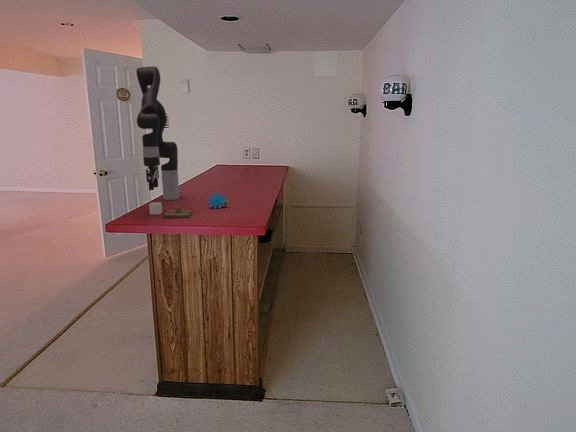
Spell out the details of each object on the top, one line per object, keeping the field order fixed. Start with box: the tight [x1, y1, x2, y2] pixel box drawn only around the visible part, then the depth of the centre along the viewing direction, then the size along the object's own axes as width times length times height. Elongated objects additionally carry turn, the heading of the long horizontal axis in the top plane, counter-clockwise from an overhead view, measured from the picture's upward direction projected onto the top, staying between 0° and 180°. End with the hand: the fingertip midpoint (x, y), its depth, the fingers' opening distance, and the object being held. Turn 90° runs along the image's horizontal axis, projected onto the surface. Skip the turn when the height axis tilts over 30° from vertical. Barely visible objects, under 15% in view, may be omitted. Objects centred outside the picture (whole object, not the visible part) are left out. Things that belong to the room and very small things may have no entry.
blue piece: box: [207, 192, 229, 210], centre depth 220 cm, size 11×6×10 cm
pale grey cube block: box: [148, 202, 163, 215], centre depth 206 cm, size 5×5×5 cm
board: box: [162, 205, 193, 219], centre depth 202 cm, size 12×12×5 cm
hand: (153, 188), depth 204 cm, fingers open, 8 cm apart
